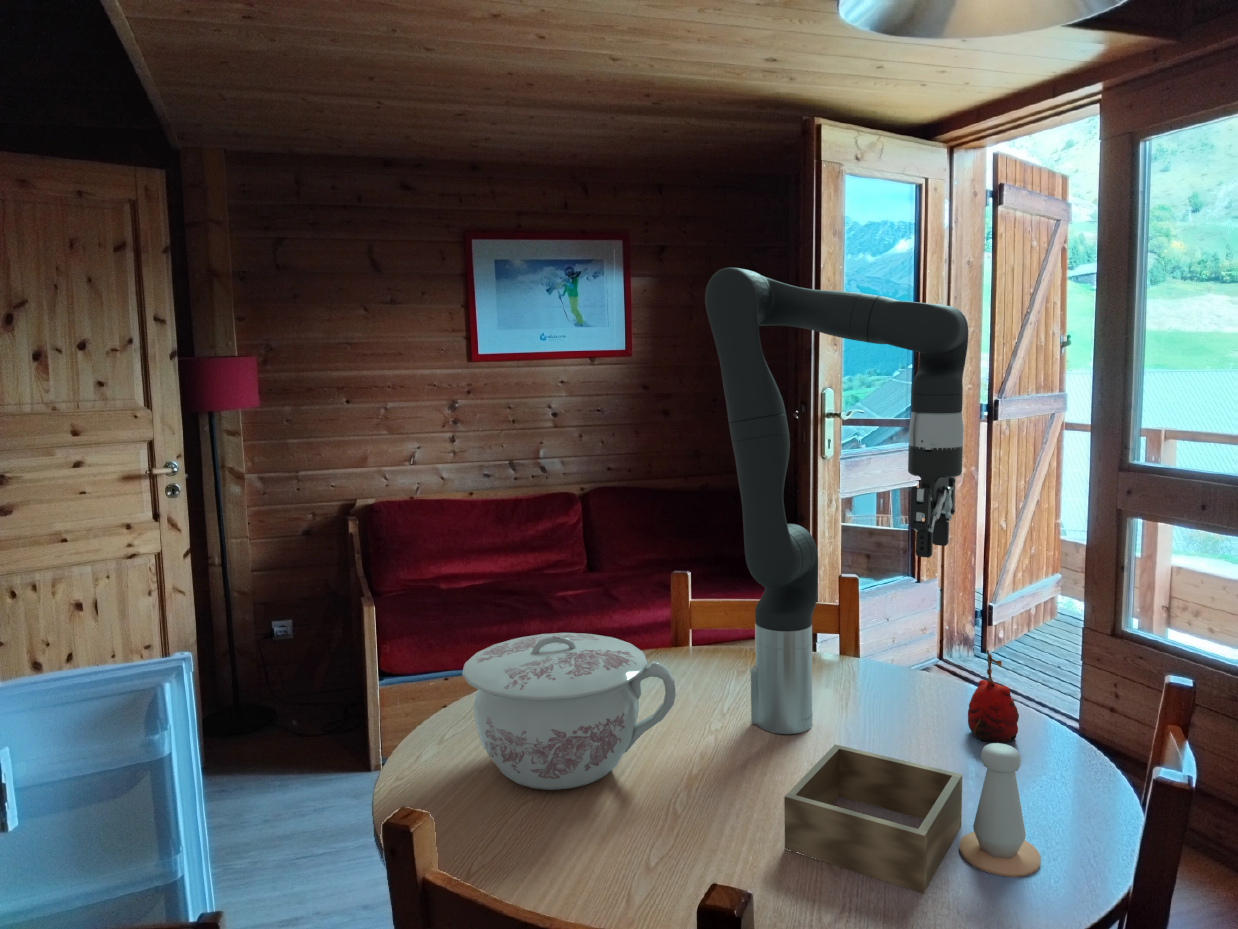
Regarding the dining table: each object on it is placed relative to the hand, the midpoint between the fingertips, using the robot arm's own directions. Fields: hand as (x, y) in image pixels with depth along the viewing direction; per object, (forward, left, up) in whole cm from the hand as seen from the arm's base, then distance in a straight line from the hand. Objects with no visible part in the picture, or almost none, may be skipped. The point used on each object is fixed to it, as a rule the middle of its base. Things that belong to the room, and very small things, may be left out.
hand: (932, 550), depth 131 cm
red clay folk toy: (+7, +10, -32) cm, 34 cm away
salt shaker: (+15, -24, -31) cm, 42 cm away
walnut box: (+1, -28, -31) cm, 42 cm away
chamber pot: (-45, -34, -32) cm, 65 cm away
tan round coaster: (+15, -24, -31) cm, 42 cm away
